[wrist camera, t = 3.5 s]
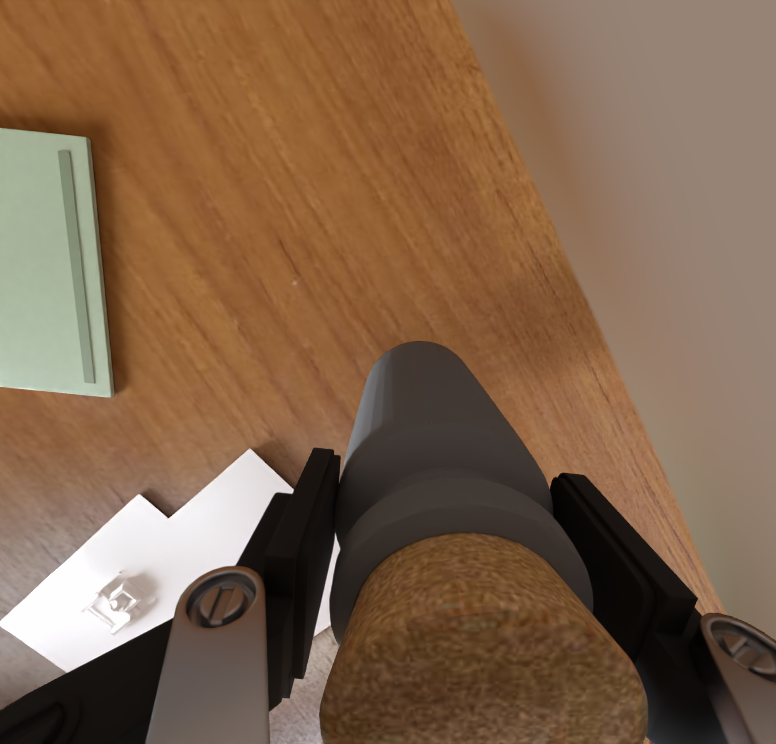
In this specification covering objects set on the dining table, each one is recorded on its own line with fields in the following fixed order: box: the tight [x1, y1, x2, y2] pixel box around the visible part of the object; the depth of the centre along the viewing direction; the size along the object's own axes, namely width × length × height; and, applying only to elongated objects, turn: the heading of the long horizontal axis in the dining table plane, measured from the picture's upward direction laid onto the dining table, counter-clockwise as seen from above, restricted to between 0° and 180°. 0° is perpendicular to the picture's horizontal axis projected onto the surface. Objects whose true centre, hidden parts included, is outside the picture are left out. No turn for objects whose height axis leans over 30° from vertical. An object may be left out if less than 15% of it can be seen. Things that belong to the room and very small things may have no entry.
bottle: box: [319, 341, 648, 744], centre depth 12 cm, size 6×6×15 cm
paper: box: [0, 449, 340, 673], centre depth 25 cm, size 25×17×1 cm
